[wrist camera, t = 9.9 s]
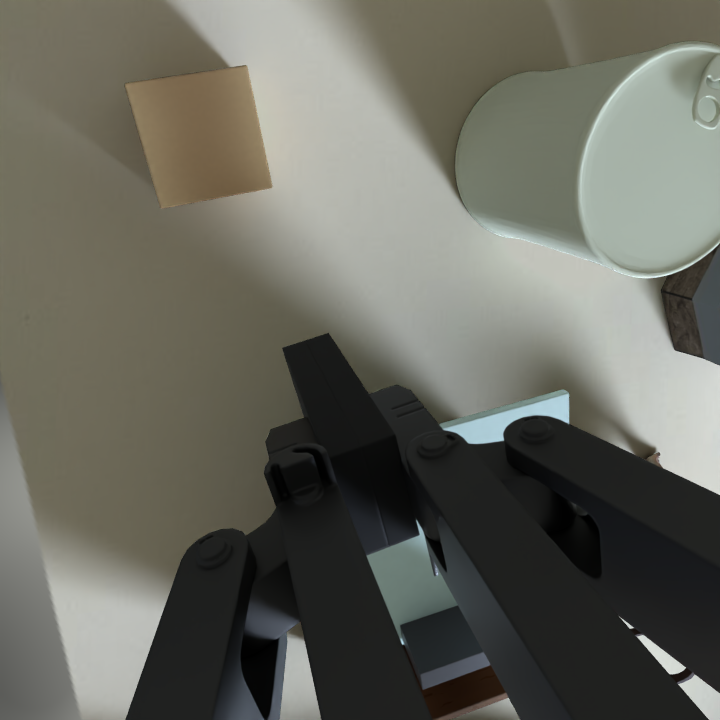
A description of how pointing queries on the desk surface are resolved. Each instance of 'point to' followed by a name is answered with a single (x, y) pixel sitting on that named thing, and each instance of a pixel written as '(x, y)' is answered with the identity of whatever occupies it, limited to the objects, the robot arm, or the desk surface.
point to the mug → (695, 307)
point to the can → (602, 159)
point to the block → (200, 135)
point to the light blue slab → (415, 575)
